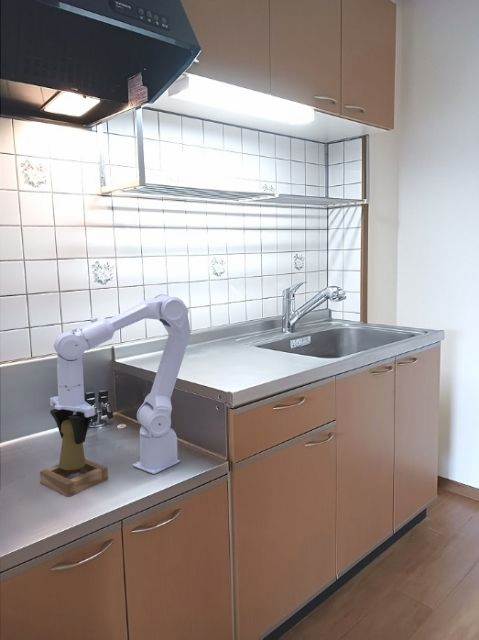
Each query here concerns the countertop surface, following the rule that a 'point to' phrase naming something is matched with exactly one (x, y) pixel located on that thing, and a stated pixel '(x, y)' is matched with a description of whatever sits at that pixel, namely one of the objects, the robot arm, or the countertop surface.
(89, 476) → the socket block
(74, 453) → the olive rounded peg
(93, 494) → the countertop surface
